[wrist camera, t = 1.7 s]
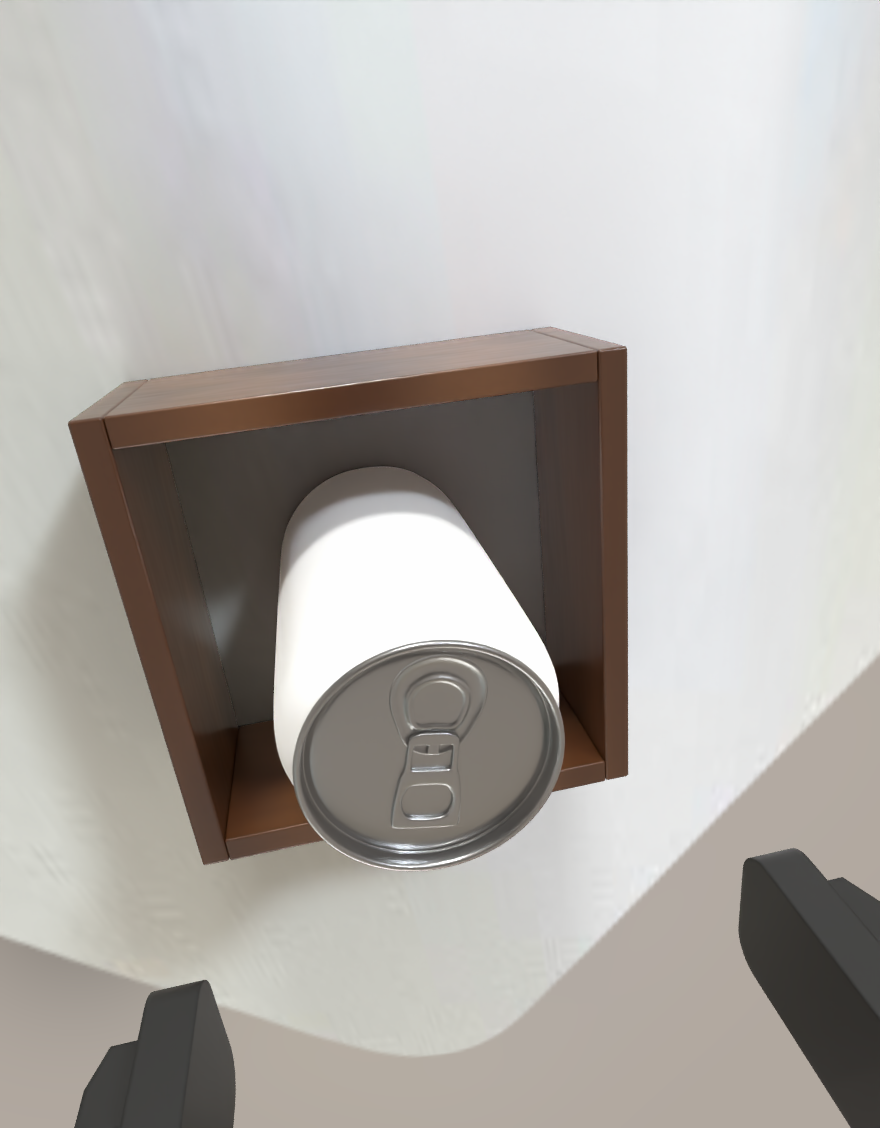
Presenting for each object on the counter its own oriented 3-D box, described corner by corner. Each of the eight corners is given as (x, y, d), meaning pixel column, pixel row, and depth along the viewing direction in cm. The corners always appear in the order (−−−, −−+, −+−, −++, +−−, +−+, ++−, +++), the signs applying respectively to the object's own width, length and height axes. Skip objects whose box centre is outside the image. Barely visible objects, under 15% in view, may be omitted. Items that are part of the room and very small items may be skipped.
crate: (221, 747, 28) (203, 867, 22) (122, 382, 22) (65, 421, 17) (567, 680, 29) (629, 776, 24) (552, 326, 24) (628, 345, 19)
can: (474, 466, 25) (611, 622, 14) (455, 634, 28) (559, 878, 17) (282, 456, 24) (271, 620, 13) (279, 634, 26) (267, 898, 15)
